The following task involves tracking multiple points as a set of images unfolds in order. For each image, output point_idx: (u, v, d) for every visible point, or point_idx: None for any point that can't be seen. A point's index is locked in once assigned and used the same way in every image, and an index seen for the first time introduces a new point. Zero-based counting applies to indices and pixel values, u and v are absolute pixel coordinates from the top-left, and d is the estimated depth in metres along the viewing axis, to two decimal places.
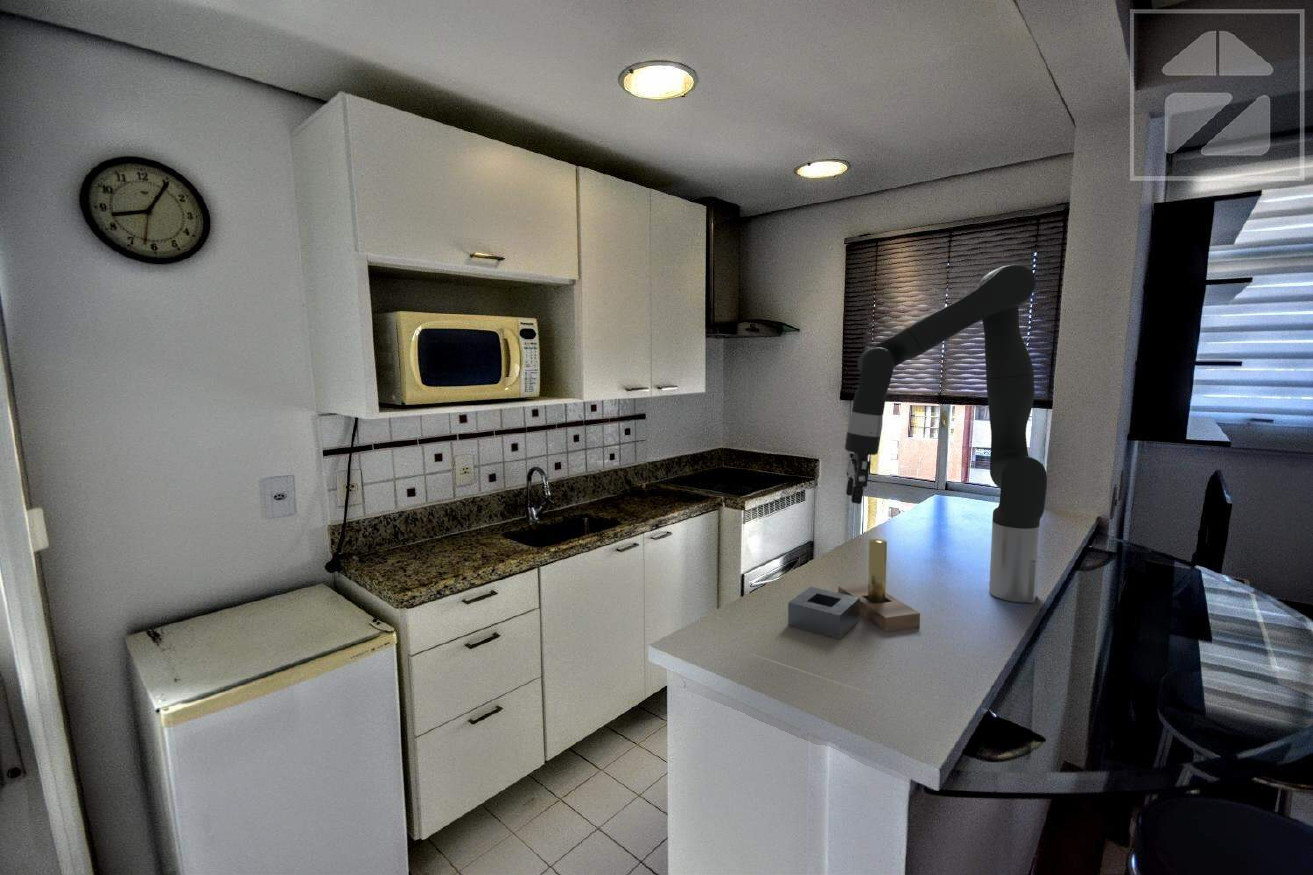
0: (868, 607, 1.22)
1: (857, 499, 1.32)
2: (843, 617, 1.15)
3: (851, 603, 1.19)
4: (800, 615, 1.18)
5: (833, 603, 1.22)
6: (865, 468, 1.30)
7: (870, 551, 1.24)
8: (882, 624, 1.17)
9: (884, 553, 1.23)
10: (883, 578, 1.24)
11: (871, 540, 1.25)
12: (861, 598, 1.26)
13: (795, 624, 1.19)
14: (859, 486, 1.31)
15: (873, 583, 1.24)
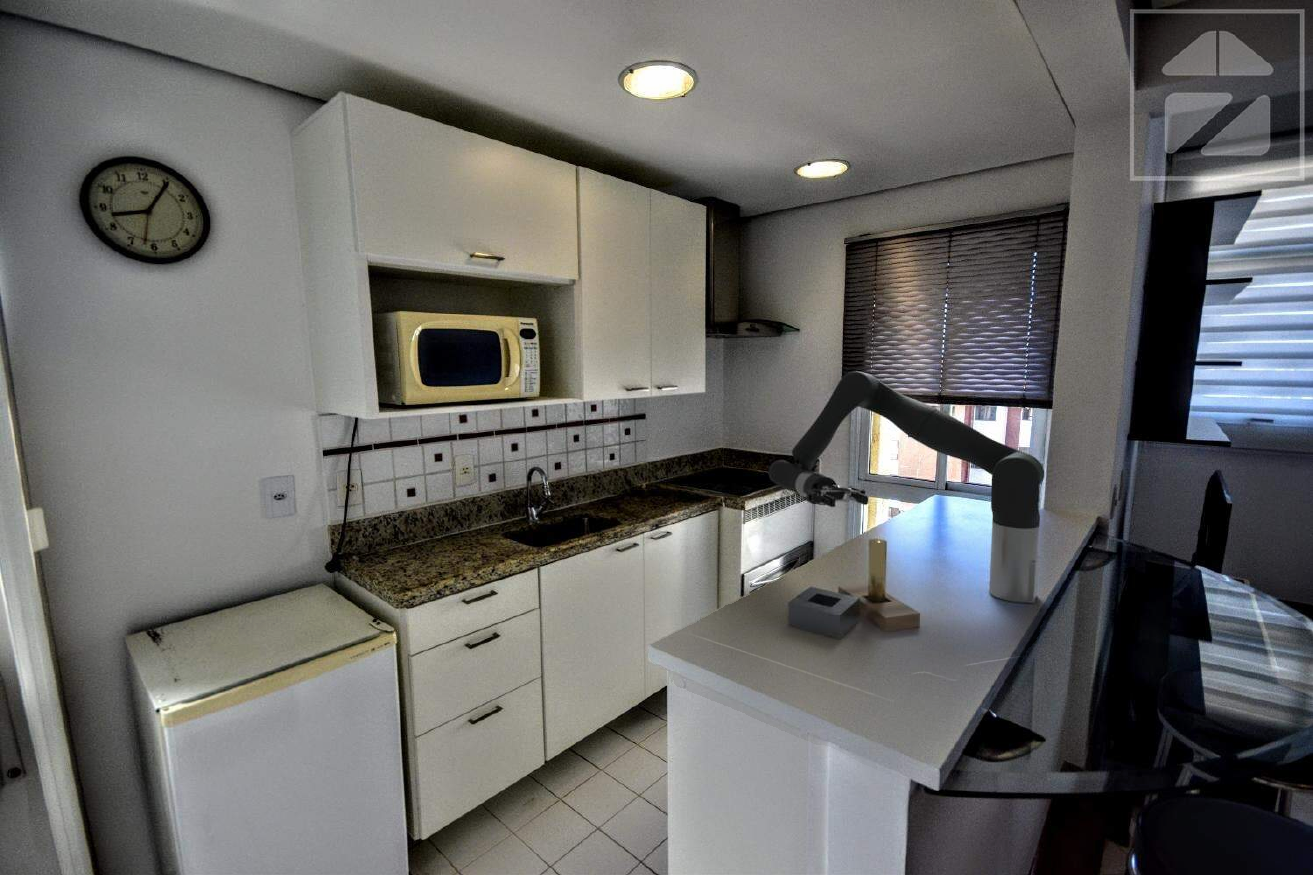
0: (868, 607, 1.22)
1: (827, 501, 1.34)
2: (843, 617, 1.15)
3: (851, 603, 1.19)
4: (800, 615, 1.18)
5: (833, 603, 1.22)
6: (805, 493, 1.41)
7: (870, 551, 1.24)
8: (882, 624, 1.17)
9: (884, 553, 1.23)
10: (883, 578, 1.24)
11: (871, 540, 1.25)
12: (861, 598, 1.26)
13: (795, 624, 1.19)
14: (816, 499, 1.37)
15: (873, 583, 1.24)
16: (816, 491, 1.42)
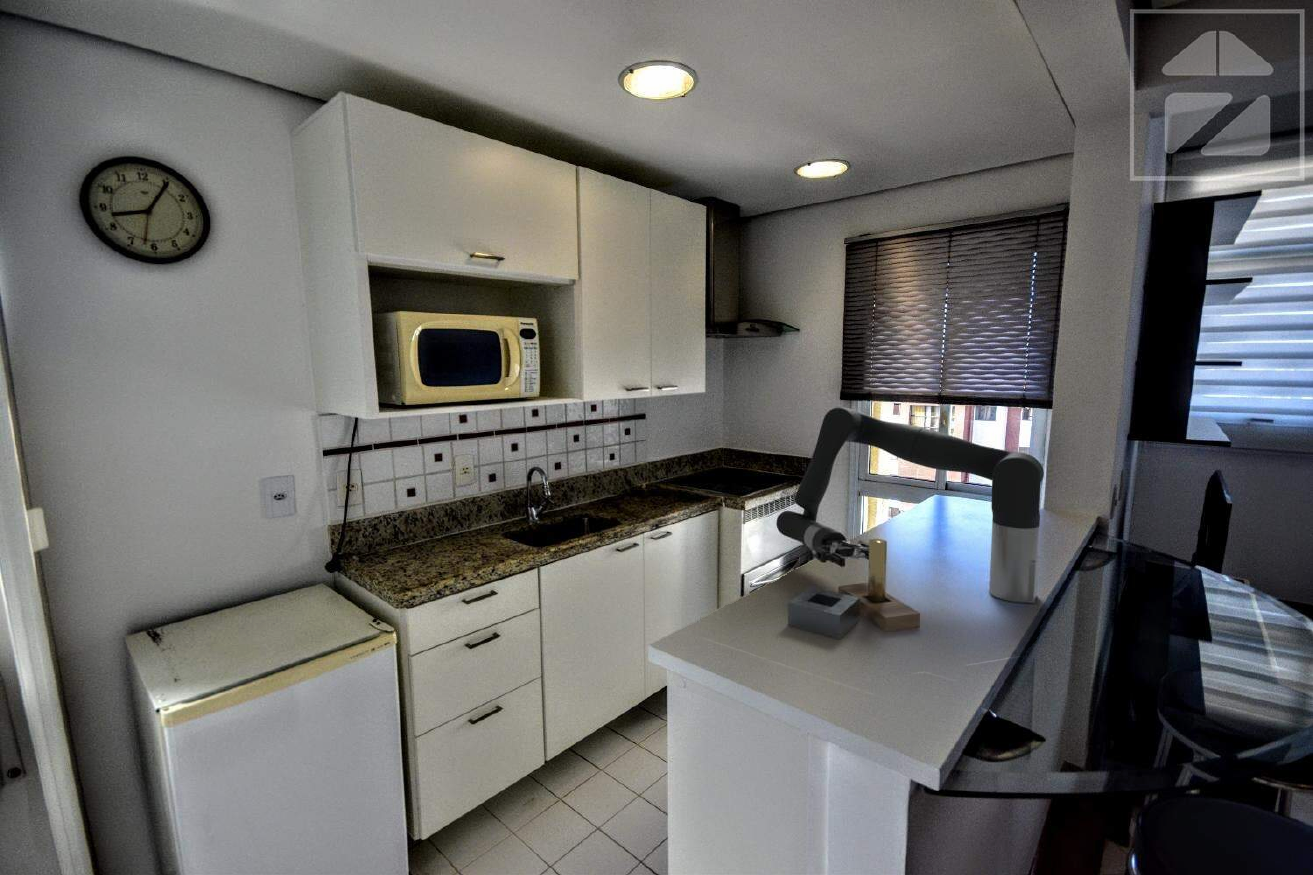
0: (868, 607, 1.22)
1: (837, 561, 1.31)
2: (843, 617, 1.15)
3: (851, 603, 1.19)
4: (800, 615, 1.18)
5: (833, 603, 1.22)
6: (814, 550, 1.38)
7: (870, 551, 1.24)
8: (882, 624, 1.17)
9: (884, 553, 1.23)
10: (883, 578, 1.24)
11: (871, 540, 1.25)
12: (861, 598, 1.26)
13: (795, 624, 1.19)
14: (826, 558, 1.34)
15: (873, 583, 1.24)
16: (825, 548, 1.39)
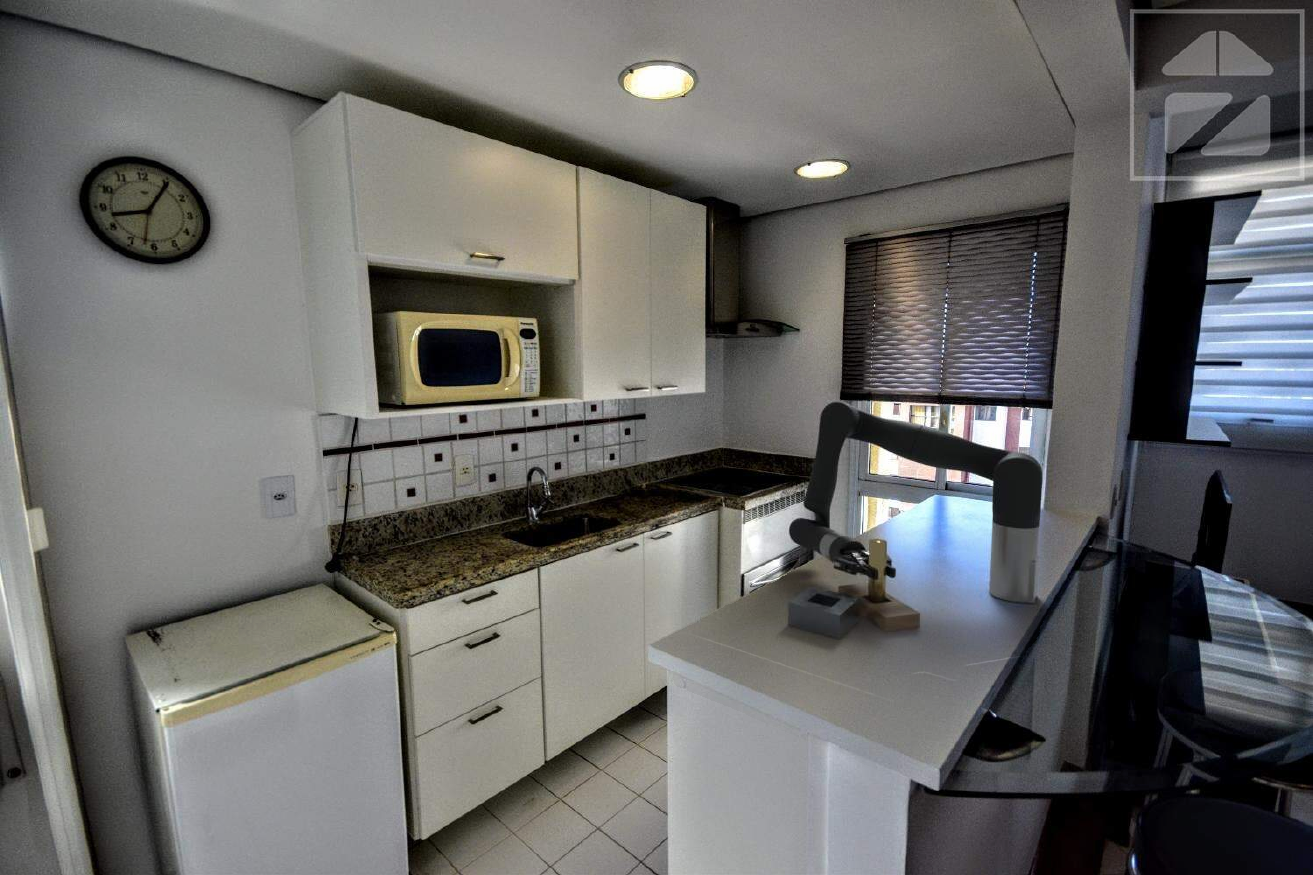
0: (868, 607, 1.22)
1: (869, 574, 1.23)
2: (843, 617, 1.15)
3: (851, 603, 1.19)
4: (800, 615, 1.18)
5: (833, 603, 1.22)
6: (838, 563, 1.29)
7: (870, 551, 1.24)
8: (882, 624, 1.17)
9: (884, 553, 1.23)
10: (883, 578, 1.24)
11: (871, 540, 1.25)
12: (861, 598, 1.26)
13: (795, 624, 1.19)
14: (856, 570, 1.26)
15: (873, 583, 1.24)
16: (844, 558, 1.31)
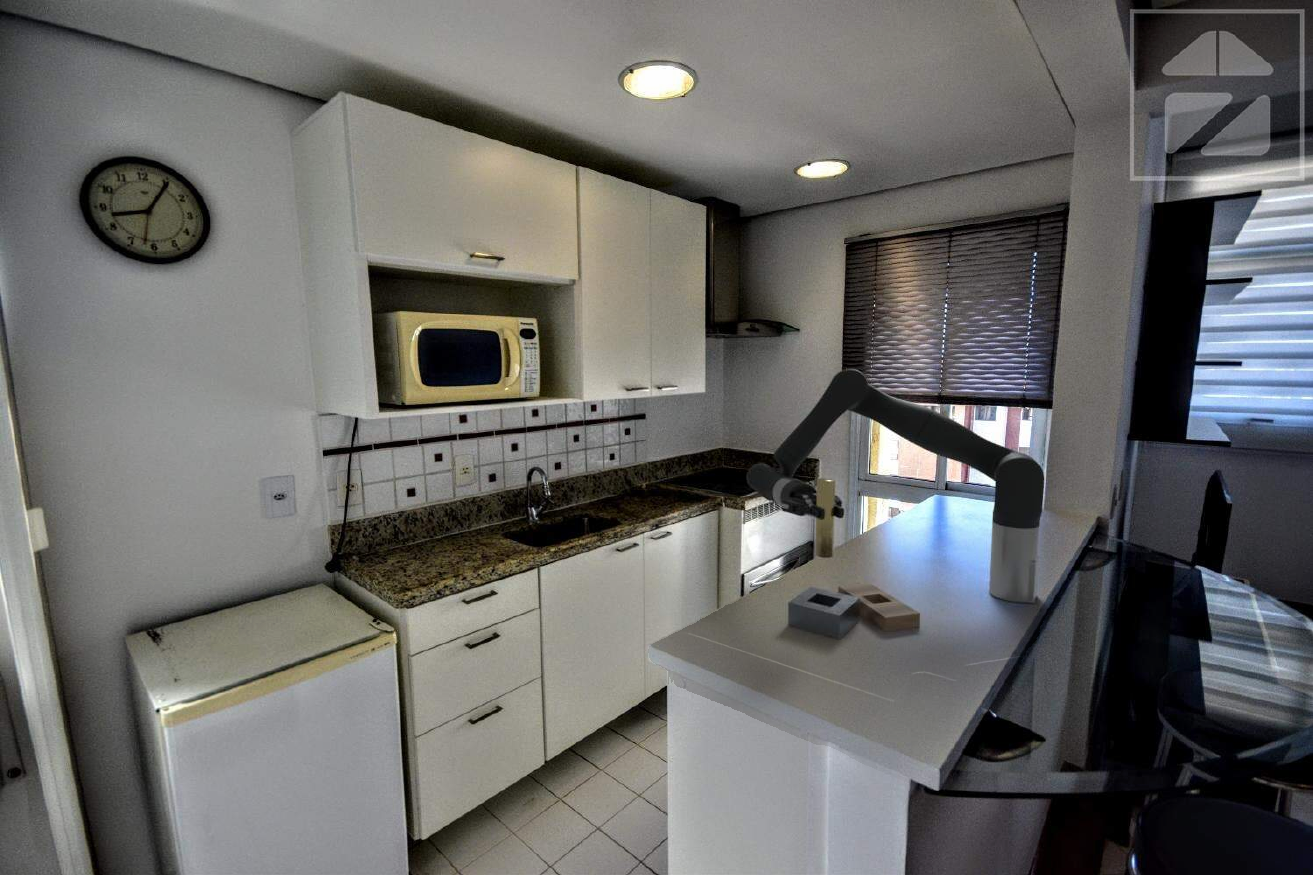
0: (868, 607, 1.22)
1: (816, 513, 1.17)
2: (843, 617, 1.15)
3: (851, 603, 1.19)
4: (800, 615, 1.18)
5: (833, 603, 1.22)
6: (786, 504, 1.23)
7: (817, 490, 1.18)
8: (882, 624, 1.17)
9: (831, 492, 1.17)
10: (830, 518, 1.18)
11: (819, 479, 1.19)
12: (861, 598, 1.26)
13: (795, 624, 1.19)
14: (803, 511, 1.20)
15: (820, 524, 1.18)
16: (793, 500, 1.25)
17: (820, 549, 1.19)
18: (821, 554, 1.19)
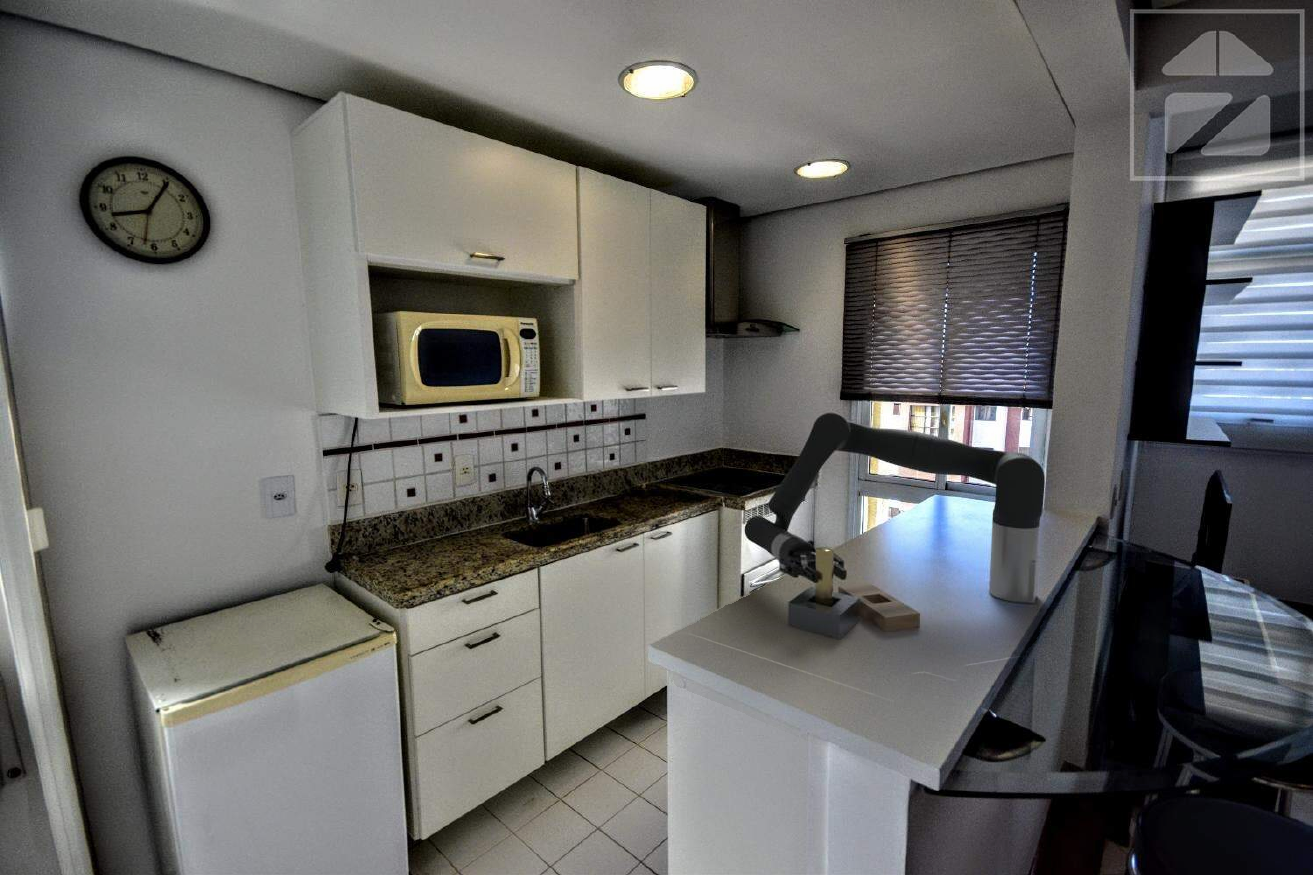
0: (868, 607, 1.22)
1: (810, 576, 1.18)
2: (843, 617, 1.15)
3: (851, 603, 1.19)
4: (800, 615, 1.18)
5: (833, 603, 1.22)
6: (782, 564, 1.24)
7: (816, 560, 1.19)
8: (882, 624, 1.17)
9: (830, 562, 1.18)
10: (829, 588, 1.19)
11: (818, 548, 1.20)
12: (861, 598, 1.26)
13: (795, 624, 1.19)
14: (798, 573, 1.21)
15: (819, 593, 1.19)
16: (792, 560, 1.26)
17: None
18: None
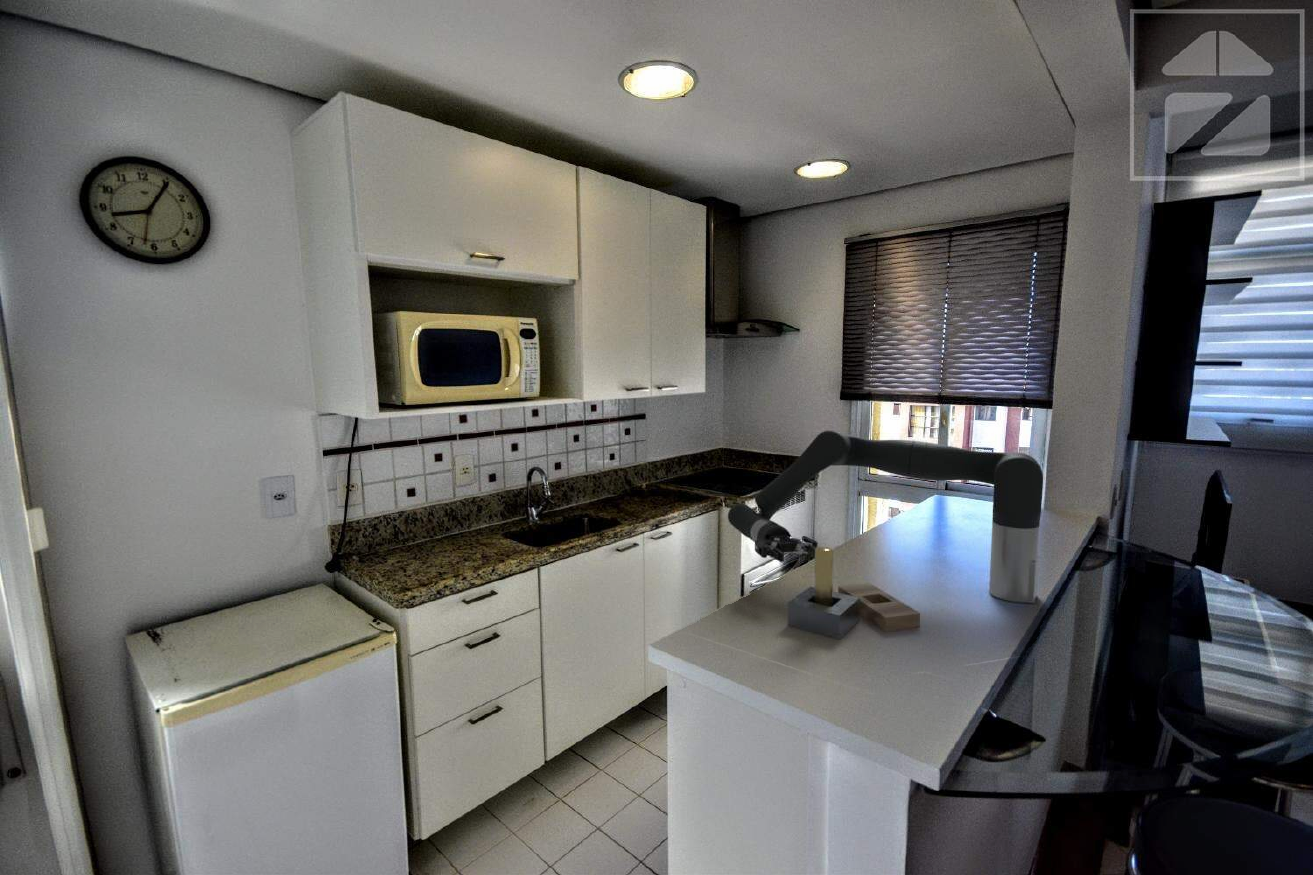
0: (868, 607, 1.22)
1: (776, 556, 1.30)
2: (843, 617, 1.15)
3: (851, 603, 1.19)
4: (800, 615, 1.18)
5: (833, 603, 1.22)
6: (756, 546, 1.37)
7: (816, 559, 1.20)
8: (882, 624, 1.17)
9: (829, 562, 1.18)
10: (829, 587, 1.19)
11: (817, 548, 1.20)
12: (861, 598, 1.26)
13: (795, 624, 1.19)
14: (766, 553, 1.33)
15: (819, 593, 1.19)
16: (767, 543, 1.38)
17: None
18: None
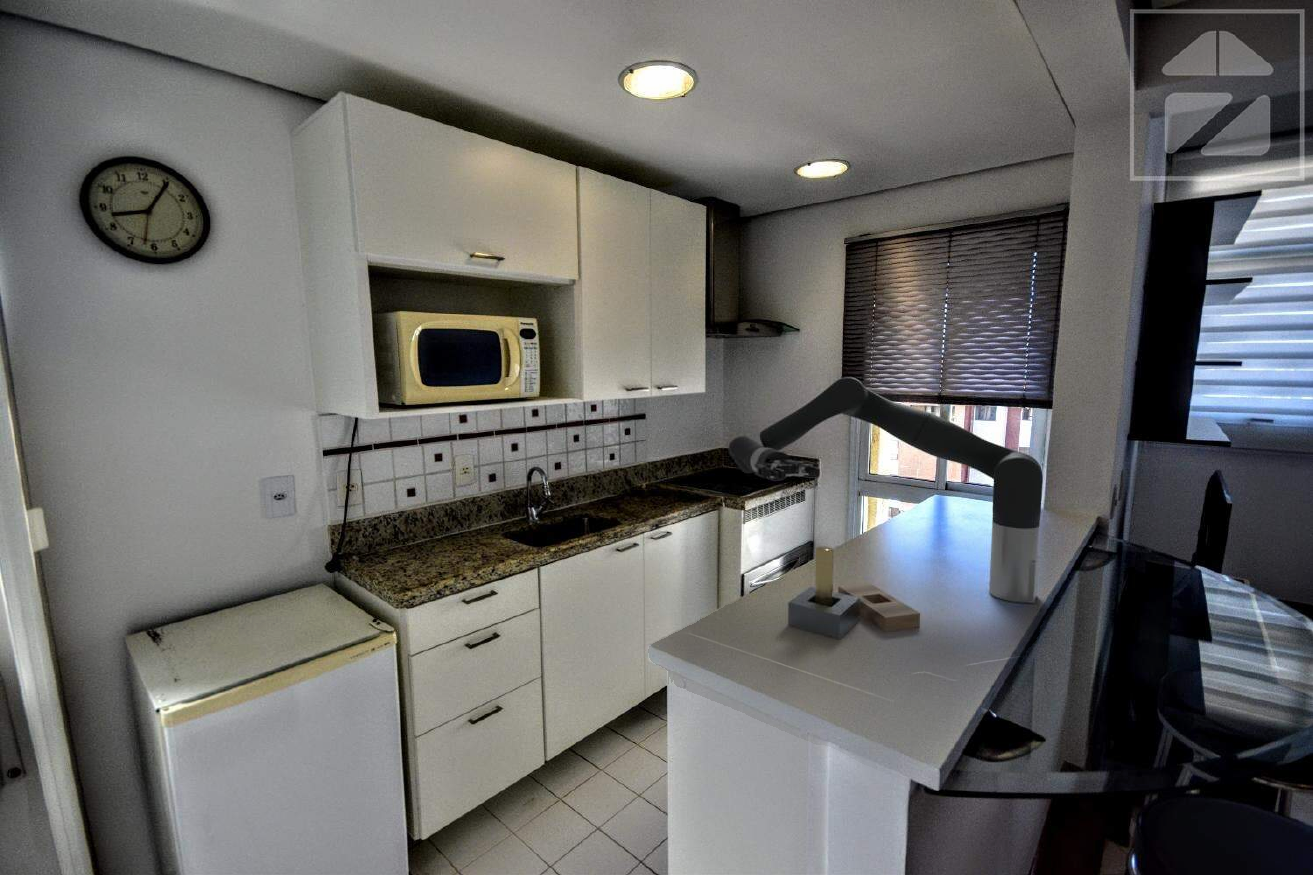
0: (868, 607, 1.22)
1: (776, 474, 1.28)
2: (843, 617, 1.15)
3: (851, 603, 1.19)
4: (800, 615, 1.18)
5: (833, 603, 1.22)
6: (756, 468, 1.35)
7: (816, 559, 1.20)
8: (882, 624, 1.17)
9: (830, 561, 1.18)
10: (829, 587, 1.19)
11: (818, 548, 1.20)
12: (861, 598, 1.26)
13: (795, 624, 1.19)
14: (766, 473, 1.31)
15: (819, 593, 1.19)
16: (768, 465, 1.36)
17: None
18: None
